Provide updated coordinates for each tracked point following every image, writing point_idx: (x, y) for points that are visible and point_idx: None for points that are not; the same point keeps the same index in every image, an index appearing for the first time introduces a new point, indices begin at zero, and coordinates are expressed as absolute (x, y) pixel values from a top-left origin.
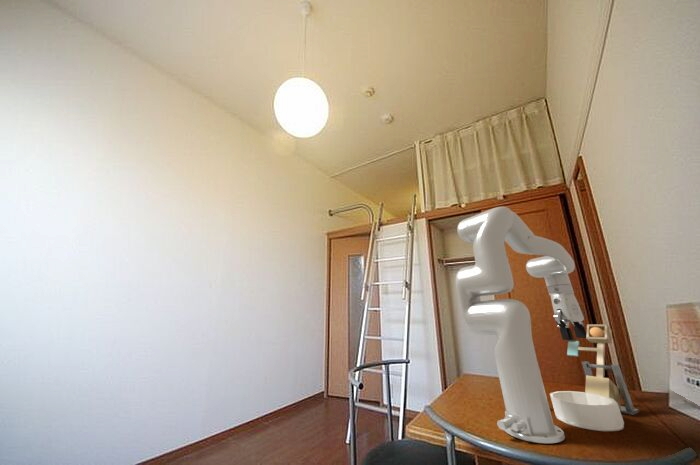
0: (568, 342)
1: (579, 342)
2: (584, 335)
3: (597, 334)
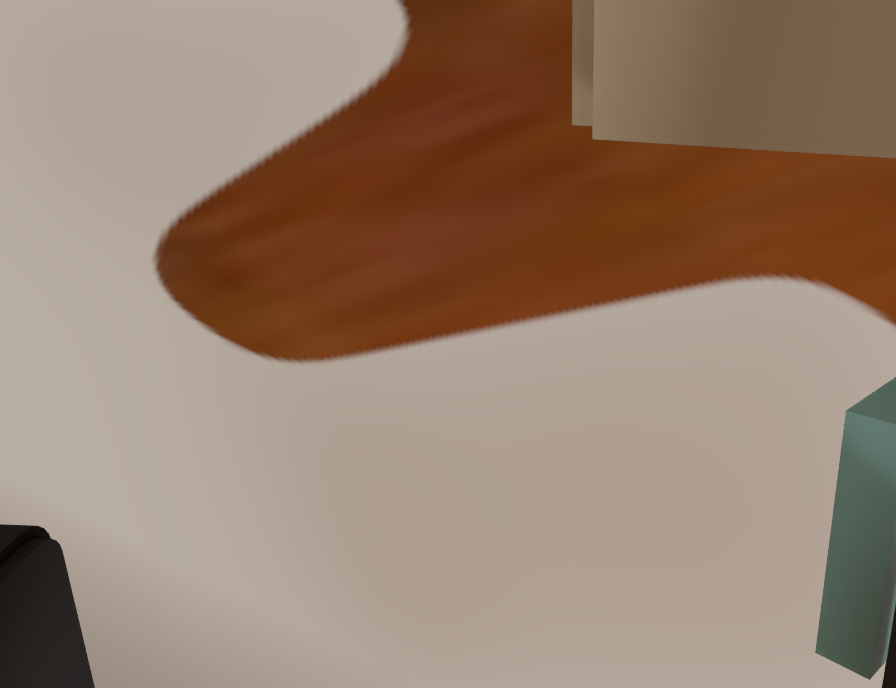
0: None
1: (857, 406)
2: (21, 591)
3: None
